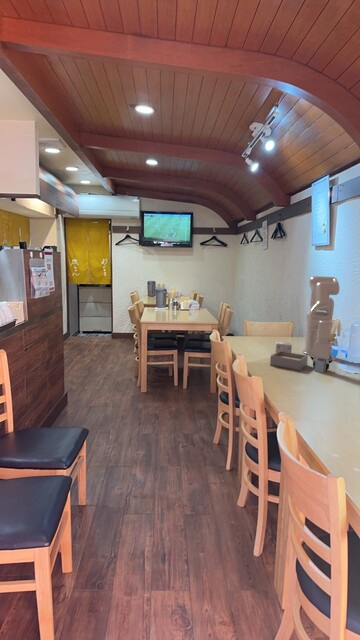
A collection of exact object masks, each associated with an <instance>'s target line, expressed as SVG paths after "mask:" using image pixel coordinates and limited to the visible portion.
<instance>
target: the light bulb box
mask: <svg viewBox="0 0 360 640" xmlns="http://www.w3.org/2000/svg"><path fill="white" fill-rule="evenodd" d="M292 347H293V344H292V343H291V342H285V341H284V342H282V341H281V342H280V341H275V342H274V354H275V353H277V352H279V351H283V352H289V353H292V349H293V348H292Z"/></svg>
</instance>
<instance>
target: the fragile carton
mask: <svg viewBox="0 0 360 640" xmlns="http://www.w3.org/2000/svg"><path fill="white" fill-rule="evenodd" d="M326 364H327V362H326V360H325V359H319V358H317V359H316V360H315V368H314V371H313V372H316V373H321V374H323V373H325V372H326V371H327V370H326Z"/></svg>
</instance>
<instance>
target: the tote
mask: <svg viewBox="0 0 360 640" xmlns="http://www.w3.org/2000/svg"><path fill="white" fill-rule="evenodd" d="M308 358H309V355H308V354H301V353H294V352H293V353H292V352H291V353H289V352H283V351H279V352H277V353H275V352H274V353H273V354H271V355H270V360H269V366H271V367H277V368H282V369H286V370H291V371H296V372H300V371H301V370H303V369H304V368H305V367H307V366H308Z"/></svg>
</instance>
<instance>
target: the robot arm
mask: <svg viewBox="0 0 360 640" xmlns="http://www.w3.org/2000/svg"><path fill="white" fill-rule="evenodd" d="M309 287H310V290H311V293H310V303H309V308H310V309H309V311H308V312H306V316H305V317H306V333H305V334H306V335H305V345H304V350H302V354H303V355H307V356H308V357H309V358H310V359H311V360H312V367H313V369H315V360H317V359H318V358H319V359H325V360H326V362H327V364H326V371H328V370H329V369H330V364H331V363H333V362H334V361H335V360H336V357H335V356H334V355H333V354H332V343H333V339H331V335H332V334H331V330H332V328H333V316H334V315H333V314H334V309H335V301H334V299H333V298H332V297H330V296H337V295H339V292H340V284H339V280H338V278H336V277H335V276H317V275H316V276H312V277H310V278H309Z"/></svg>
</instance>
